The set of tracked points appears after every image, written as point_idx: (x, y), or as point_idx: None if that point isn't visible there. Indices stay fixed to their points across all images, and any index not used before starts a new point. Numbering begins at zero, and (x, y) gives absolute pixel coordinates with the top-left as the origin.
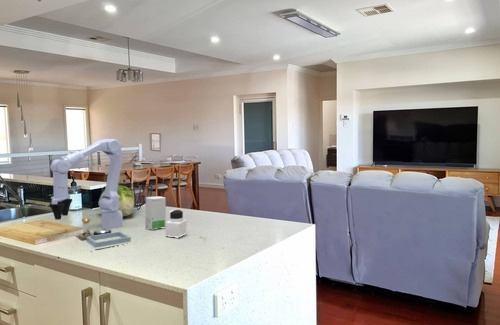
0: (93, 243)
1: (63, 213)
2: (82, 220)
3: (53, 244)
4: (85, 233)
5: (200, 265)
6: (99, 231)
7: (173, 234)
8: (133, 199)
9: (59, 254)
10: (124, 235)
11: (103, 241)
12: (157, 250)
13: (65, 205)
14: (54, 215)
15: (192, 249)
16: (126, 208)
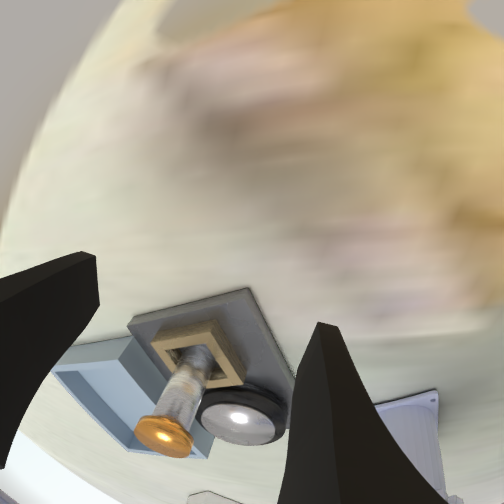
0: (63, 359)
1: (310, 357)
2: (141, 422)
3: (125, 173)
4: (176, 365)
5: (41, 441)
6: (214, 416)
7: (193, 501)
8: None
9: (8, 233)
10: (152, 450)
11: (67, 389)
12: (93, 444)
13: (295, 493)
14: (37, 270)
15: (111, 474)
16: None
